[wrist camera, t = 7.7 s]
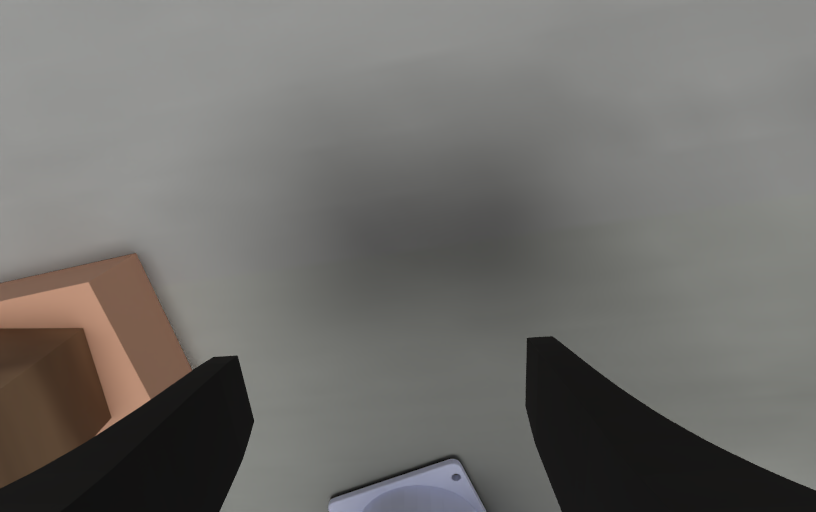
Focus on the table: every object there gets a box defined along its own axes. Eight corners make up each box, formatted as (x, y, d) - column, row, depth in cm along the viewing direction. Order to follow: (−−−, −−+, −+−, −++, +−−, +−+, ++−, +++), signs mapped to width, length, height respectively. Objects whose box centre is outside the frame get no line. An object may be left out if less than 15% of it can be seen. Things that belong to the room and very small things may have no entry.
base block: (140, 250, 20) (88, 282, 17) (199, 374, 23) (163, 423, 20) (3, 280, 21) (-72, 316, 18) (75, 398, 23) (20, 449, 20)
